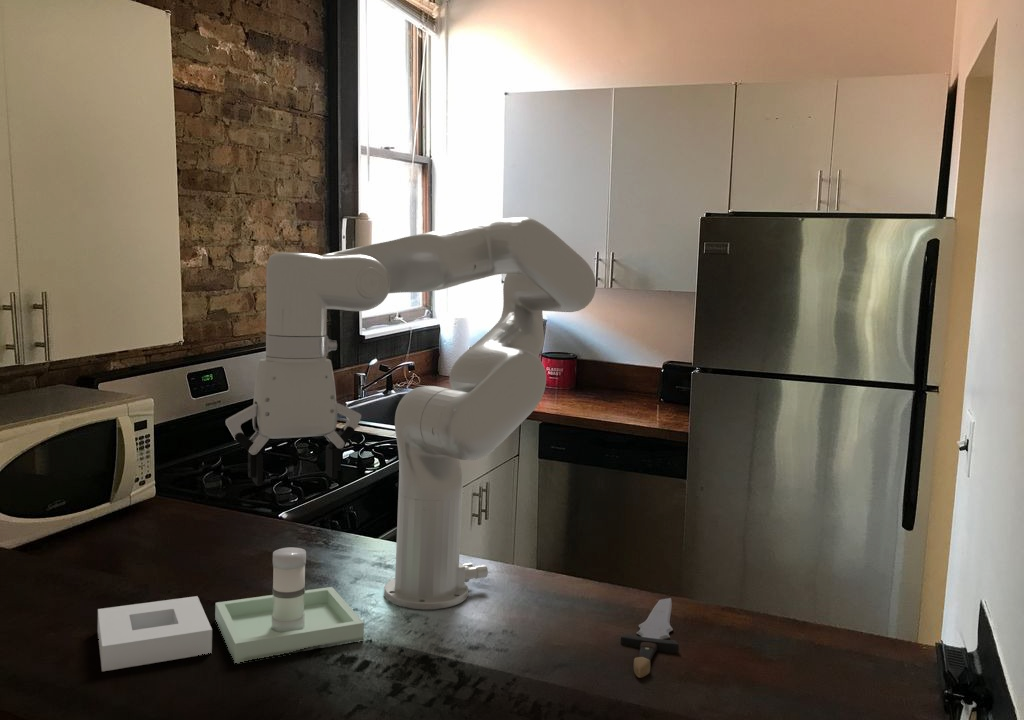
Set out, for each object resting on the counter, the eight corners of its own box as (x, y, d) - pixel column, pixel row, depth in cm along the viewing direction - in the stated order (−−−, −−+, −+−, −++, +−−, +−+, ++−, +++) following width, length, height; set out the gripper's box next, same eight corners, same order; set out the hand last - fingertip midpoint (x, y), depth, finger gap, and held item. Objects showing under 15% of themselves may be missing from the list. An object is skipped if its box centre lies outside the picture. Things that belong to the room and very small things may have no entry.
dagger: (617, 680, 97) (618, 663, 97) (624, 589, 129) (625, 577, 128) (681, 688, 96) (682, 671, 96) (672, 594, 127) (673, 582, 127)
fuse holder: (197, 617, 108) (197, 596, 108) (211, 653, 98) (212, 629, 98) (97, 631, 103) (97, 609, 102) (101, 671, 92) (102, 646, 92)
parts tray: (331, 603, 116) (332, 586, 115) (363, 641, 103) (364, 622, 103) (215, 620, 108) (215, 602, 108) (234, 663, 96) (235, 643, 95)
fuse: (299, 617, 108) (301, 545, 108) (308, 629, 105) (310, 555, 104) (268, 623, 106) (269, 549, 105) (276, 635, 103) (277, 559, 102)
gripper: (352, 346, 110) (350, 468, 112) (220, 347, 102) (220, 479, 103) (370, 351, 104) (368, 480, 105) (231, 352, 95) (231, 492, 97)
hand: (295, 479), depth 104 cm, fingers open, 9 cm apart
